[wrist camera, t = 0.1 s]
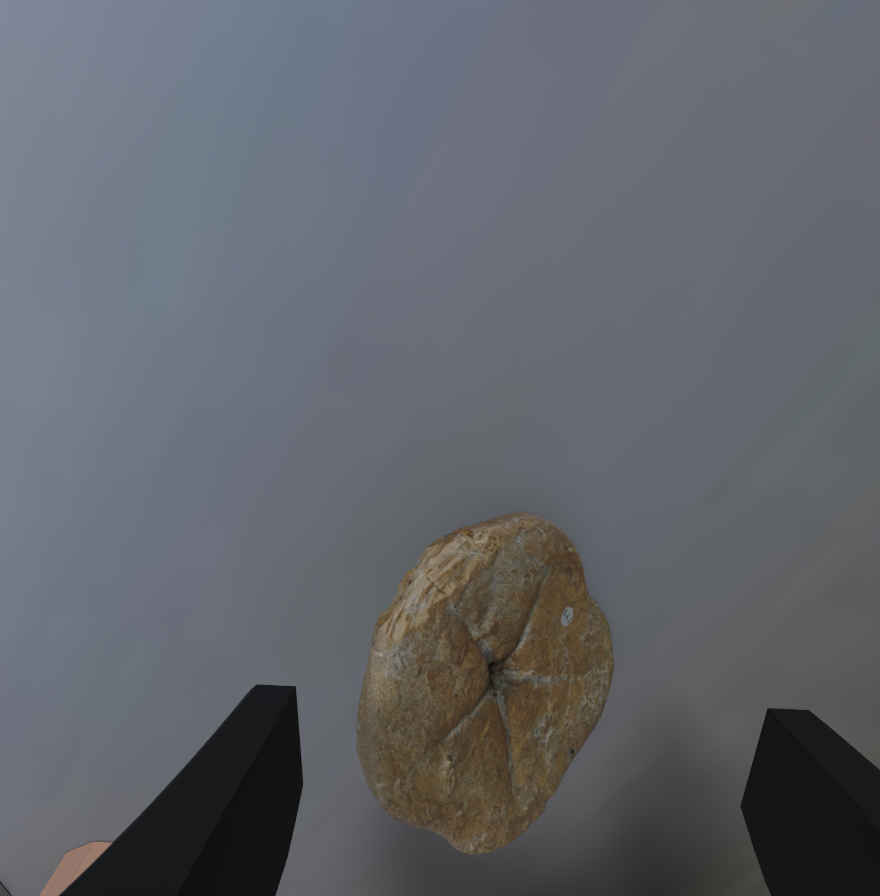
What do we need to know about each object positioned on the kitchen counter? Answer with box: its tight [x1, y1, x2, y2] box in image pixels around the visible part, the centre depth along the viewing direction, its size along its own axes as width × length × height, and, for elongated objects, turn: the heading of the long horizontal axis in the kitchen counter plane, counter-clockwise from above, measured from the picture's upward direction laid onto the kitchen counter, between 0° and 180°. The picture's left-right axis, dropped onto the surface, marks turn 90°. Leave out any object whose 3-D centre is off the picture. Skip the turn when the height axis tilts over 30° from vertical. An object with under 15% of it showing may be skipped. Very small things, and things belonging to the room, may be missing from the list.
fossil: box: [356, 512, 614, 855], centre depth 19 cm, size 9×4×10 cm
